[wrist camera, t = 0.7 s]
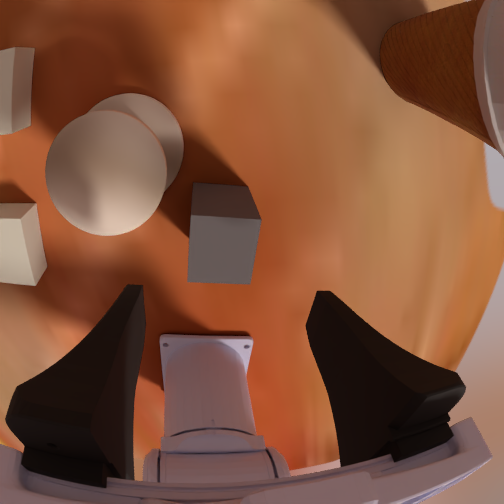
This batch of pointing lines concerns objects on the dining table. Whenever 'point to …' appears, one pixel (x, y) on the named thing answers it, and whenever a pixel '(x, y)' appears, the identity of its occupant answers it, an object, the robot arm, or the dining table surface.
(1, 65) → the notch board
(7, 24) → the dining table surface
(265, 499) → the robot arm
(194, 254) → the block
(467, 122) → the disposable coffee cup
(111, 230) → the bobbin post
